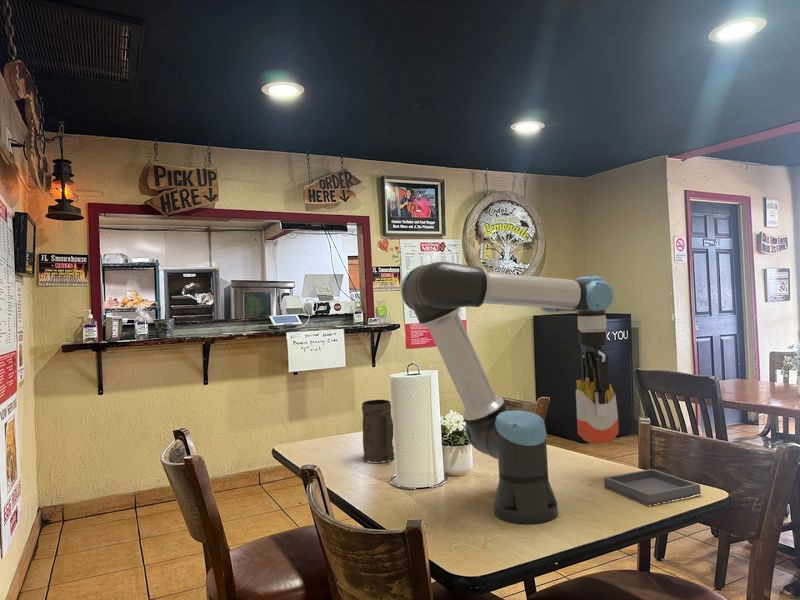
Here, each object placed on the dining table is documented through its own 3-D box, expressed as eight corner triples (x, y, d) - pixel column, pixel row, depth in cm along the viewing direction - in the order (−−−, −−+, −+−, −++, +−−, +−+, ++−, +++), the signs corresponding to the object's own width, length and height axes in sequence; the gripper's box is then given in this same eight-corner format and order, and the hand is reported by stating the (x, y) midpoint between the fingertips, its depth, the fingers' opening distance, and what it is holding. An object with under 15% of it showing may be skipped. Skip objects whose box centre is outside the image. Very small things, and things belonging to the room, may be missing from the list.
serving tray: (649, 506, 136) (648, 494, 136) (604, 488, 151) (604, 477, 151) (700, 496, 141) (700, 484, 141) (652, 479, 156) (652, 468, 156)
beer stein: (355, 459, 194) (354, 401, 193) (380, 453, 201) (379, 397, 200) (384, 470, 182) (383, 409, 182) (409, 463, 189) (408, 403, 189)
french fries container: (620, 441, 159) (617, 376, 160) (588, 445, 155) (585, 379, 156) (608, 438, 163) (605, 375, 164) (577, 442, 159) (574, 378, 160)
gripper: (620, 331, 151) (624, 418, 151) (592, 329, 170) (596, 407, 169) (592, 332, 151) (597, 420, 150) (567, 330, 169) (571, 408, 169)
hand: (596, 413), depth 160 cm, fingers closed on french fries container, 5 cm apart
